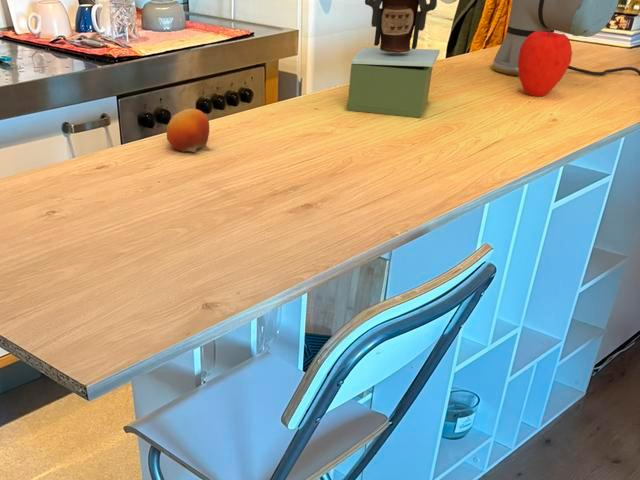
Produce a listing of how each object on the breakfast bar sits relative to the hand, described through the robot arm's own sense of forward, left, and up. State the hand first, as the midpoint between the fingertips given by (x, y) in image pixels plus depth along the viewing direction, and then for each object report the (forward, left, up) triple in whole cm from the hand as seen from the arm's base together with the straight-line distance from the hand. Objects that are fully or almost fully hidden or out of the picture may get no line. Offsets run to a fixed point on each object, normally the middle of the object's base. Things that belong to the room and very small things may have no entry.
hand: (395, 45), depth 173 cm
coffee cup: (0, 0, -1) cm, 1 cm away
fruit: (+31, +46, -12) cm, 57 cm away
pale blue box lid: (0, 0, -2) cm, 2 cm away
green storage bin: (0, 0, -12) cm, 12 cm away
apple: (-32, -25, -12) cm, 42 cm away
